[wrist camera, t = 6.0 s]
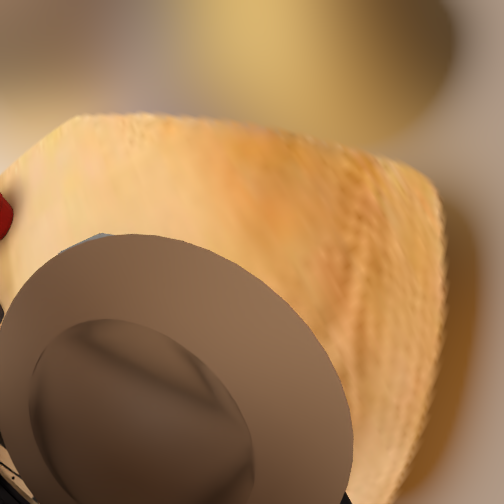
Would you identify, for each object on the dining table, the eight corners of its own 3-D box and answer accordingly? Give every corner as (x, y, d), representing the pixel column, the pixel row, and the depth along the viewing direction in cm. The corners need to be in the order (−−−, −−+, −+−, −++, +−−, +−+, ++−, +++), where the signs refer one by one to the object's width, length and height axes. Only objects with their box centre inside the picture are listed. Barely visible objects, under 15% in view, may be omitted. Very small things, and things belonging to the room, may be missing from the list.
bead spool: (244, 440, 13) (209, 607, 1) (159, 386, 14) (-26, 418, 2) (298, 358, 15) (430, 371, 3) (211, 307, 16) (92, 176, 4)
